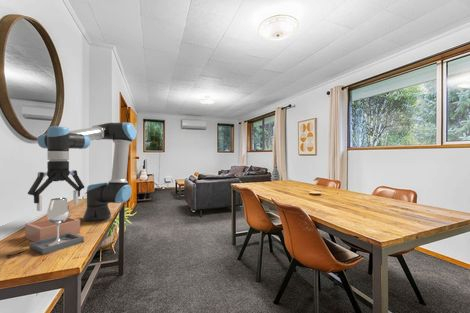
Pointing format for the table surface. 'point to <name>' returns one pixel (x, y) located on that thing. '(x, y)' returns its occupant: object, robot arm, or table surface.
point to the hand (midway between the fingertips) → (58, 207)
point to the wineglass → (57, 216)
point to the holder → (50, 229)
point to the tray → (44, 249)
